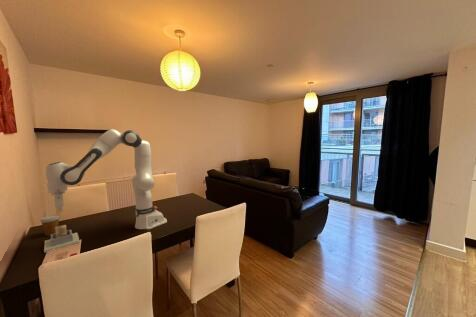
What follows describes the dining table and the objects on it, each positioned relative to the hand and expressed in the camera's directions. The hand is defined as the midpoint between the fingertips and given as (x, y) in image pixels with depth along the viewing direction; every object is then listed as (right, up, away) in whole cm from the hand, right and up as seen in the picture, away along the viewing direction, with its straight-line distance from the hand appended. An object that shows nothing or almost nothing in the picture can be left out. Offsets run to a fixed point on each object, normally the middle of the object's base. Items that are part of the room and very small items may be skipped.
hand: (60, 210), depth 123 cm
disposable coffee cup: (-19, -20, +15) cm, 31 cm away
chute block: (0, -20, +2) cm, 20 cm away
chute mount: (0, -21, +2) cm, 21 cm away
